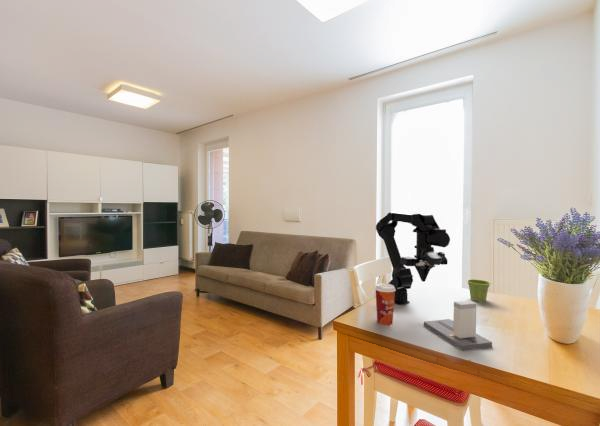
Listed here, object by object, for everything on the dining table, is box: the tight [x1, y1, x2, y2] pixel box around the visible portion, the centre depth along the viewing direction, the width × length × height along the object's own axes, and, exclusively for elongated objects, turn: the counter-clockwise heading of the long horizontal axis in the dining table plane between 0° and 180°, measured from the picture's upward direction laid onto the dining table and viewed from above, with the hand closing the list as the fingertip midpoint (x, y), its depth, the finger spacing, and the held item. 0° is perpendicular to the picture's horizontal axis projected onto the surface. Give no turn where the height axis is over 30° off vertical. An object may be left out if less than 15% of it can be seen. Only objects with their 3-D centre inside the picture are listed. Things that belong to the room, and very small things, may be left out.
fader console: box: [423, 318, 493, 352], centre depth 101 cm, size 19×11×2 cm, turn 13°
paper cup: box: [374, 283, 396, 326], centre depth 113 cm, size 8×8×14 cm
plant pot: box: [466, 278, 491, 303], centre depth 138 cm, size 9×9×9 cm
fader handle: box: [453, 300, 477, 338], centre depth 97 cm, size 3×6×11 cm, turn 103°
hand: (423, 281), depth 122 cm, fingers closed
